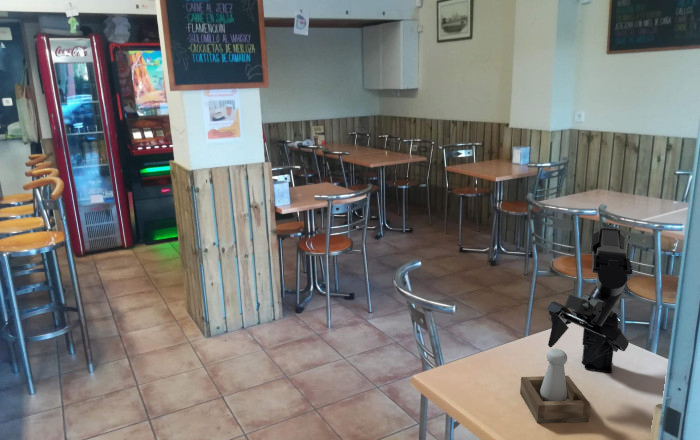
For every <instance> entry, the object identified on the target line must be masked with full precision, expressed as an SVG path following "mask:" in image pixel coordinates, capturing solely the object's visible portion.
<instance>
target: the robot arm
mask: <svg viewBox="0 0 700 440" xmlns="http://www.w3.org/2000/svg"><path fill="white" fill-rule="evenodd" d="M625 241H626V237H625V236H623V234H621V229H619V228H616V227H604V226H603V227H599V231H597V232H595V233H592V234H591V238H590V247H589V251H590V253H592V255H591V256H592V257H591V260H592V273H593V274H596V283H595V286H594V288H593V289H592V290H591V292H590V293H589V294H588V293H585V294H584V295H583V296H582V297H579V296H576V295H573V294H570V293H569V294H568V297H567V299H566V301H565V304H562V303H559V302H557V301H551V302H549V304H548V305H547V306H546V308H545V310H546V311H547V313H548V316H550V318H551V330H550V334H549V339H548V343H547V345H548V347H549V348H553V346H555V345H556V344H557V343H558V341H559V340H560V339H561V338H562V337H563V335H564V334H565V333H566V331H568V329H569V326H568V325H570V324H572V323H573V324H575V325H576V326H579V327H581V328H583V332H582V346H583V349H582V355H581V356H582V358H581V359H582V360H581V365H583V366H584V369H586V370H591V371H598V372H604V373H610V374H612V373H613V359H614V357H613V356H614V352H615V353H617V352H618V351H621V352H626V350H627V348H628V347H629V339H628V337H627V336H626V335H625V334H624V332H623V331H622V330H621V329H622V328H621V327H619V318H618V315H617V313H616V312H614V311H613V310H614V308H615V306H616V305H617V303H618V301H620V299H621V297H622V296H623V295H624V293H625V286H626V284H627V282H628V277H630V275H633V264H632V262H631V259H630V257H627V251H626V250H625V244H626V243H625ZM570 309H571V311H570ZM572 312H573V313H575V314H573V313H572Z"/></svg>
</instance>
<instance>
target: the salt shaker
mask: <svg viewBox="0 0 700 440" xmlns="http://www.w3.org/2000/svg"><path fill="white" fill-rule="evenodd" d="M546 359H547V360H546V361H548V365H547V368H546V371H545V375H544V376H545V377H544V380H543V383H542V386H541V389H540V393H541V396H542V399H543V401H565V400H566V398H567V388H566V379H565V376H566V372H565V365H566V363H567V361H568V355H567V353H566V352H565V351H564V350H562V349H559V348H550V349H549V350H547V352H546Z"/></svg>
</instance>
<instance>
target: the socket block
mask: <svg viewBox="0 0 700 440" xmlns="http://www.w3.org/2000/svg"><path fill="white" fill-rule="evenodd" d="M544 377H545V375H544V376H542V375H541V376H540V375H539V376H521V377H520V388H519V395H520V396H521V398H522V400H523V401H524V403H525V405H526V406H527V408H528V409H529V411H530V413H531V415H532V417H533V419H534V420H535V422H536V423H537V424H556V423H557V424H560V423H587V422H589V420H590V419H589V418H590V413H591V411H590V409H591V403H590V401H589V400H588V399H587V397H586V396H585V395H584V394H583V393H582V391H581V390H580V389H579V387H578V386H577V385H576V384H575V382H574V381H573V379H571V377H570V376H569V375H565V379H566V388H567V398H566V400H565V401H543V399H542V396H541V393H540V389H541V386H542V383H543V380H544Z"/></svg>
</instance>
